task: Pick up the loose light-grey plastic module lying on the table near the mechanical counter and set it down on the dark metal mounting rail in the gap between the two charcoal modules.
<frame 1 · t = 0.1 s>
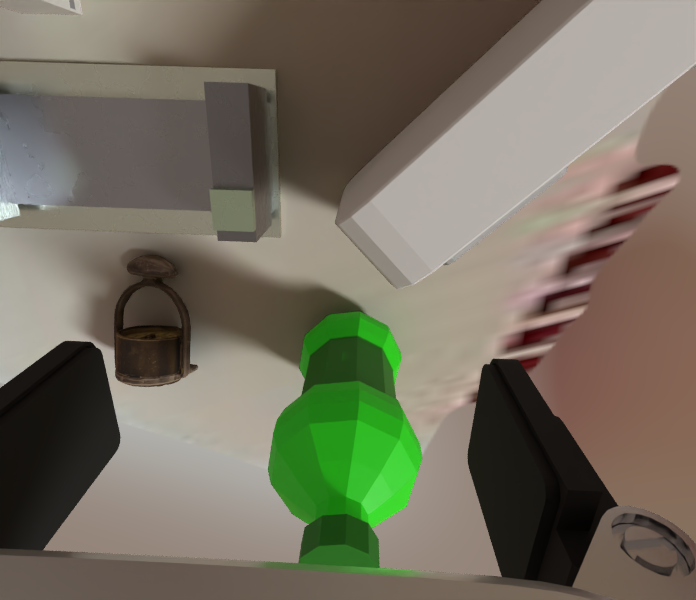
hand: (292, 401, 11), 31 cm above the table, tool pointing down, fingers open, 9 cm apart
plastic bottle: (351, 340, 45), on the table
rail: (128, 153, 39), on the table
rounded white slab: (492, 90, 36), on the table
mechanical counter: (170, 313, 45), on the table
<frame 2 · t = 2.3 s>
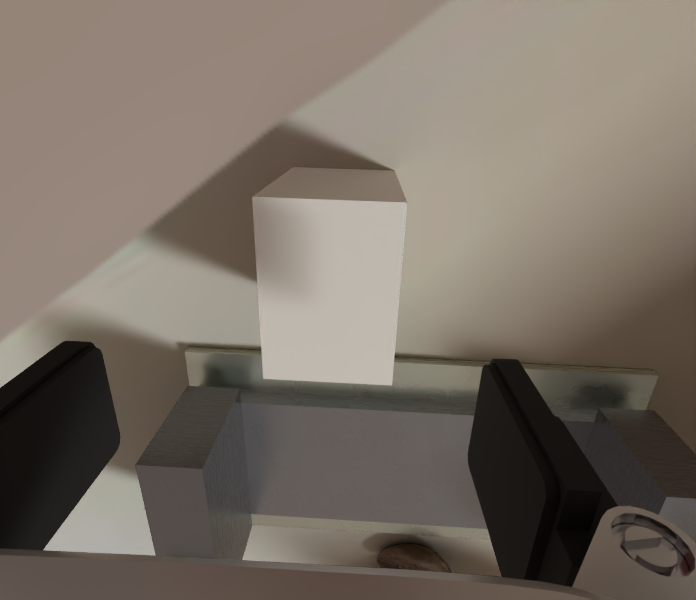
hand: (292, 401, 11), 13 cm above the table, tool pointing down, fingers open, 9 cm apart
module: (342, 238, 23), on the table
rail: (406, 450, 28), on the table
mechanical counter: (414, 591, 34), on the table
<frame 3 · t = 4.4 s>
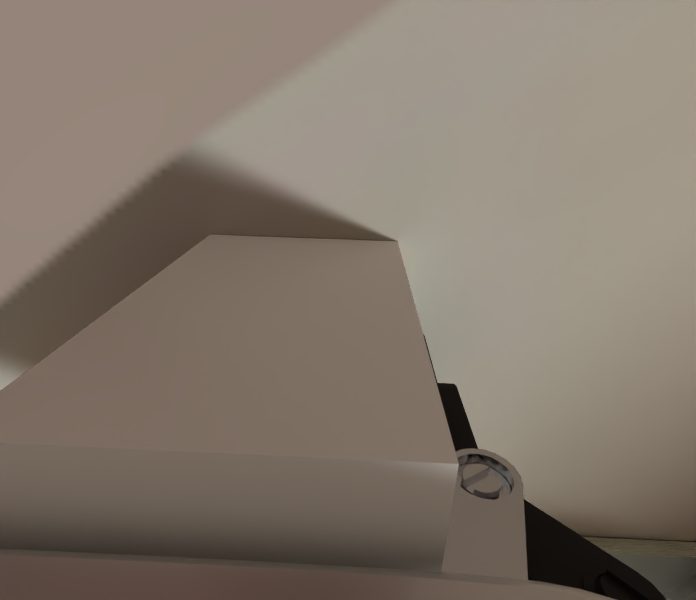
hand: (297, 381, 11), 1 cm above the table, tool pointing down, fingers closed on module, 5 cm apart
module: (304, 353, 13), on the table, touching gripper
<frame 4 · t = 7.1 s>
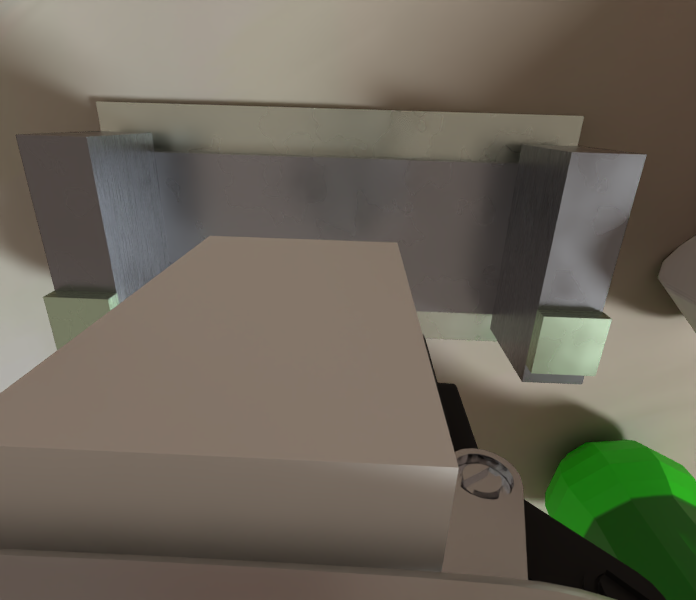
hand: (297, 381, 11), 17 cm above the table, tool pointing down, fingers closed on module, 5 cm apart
plastic bottle: (592, 465, 34), on the table
module: (304, 354, 13), point 15 cm above the table, touching gripper
rail: (335, 230, 27), on the table
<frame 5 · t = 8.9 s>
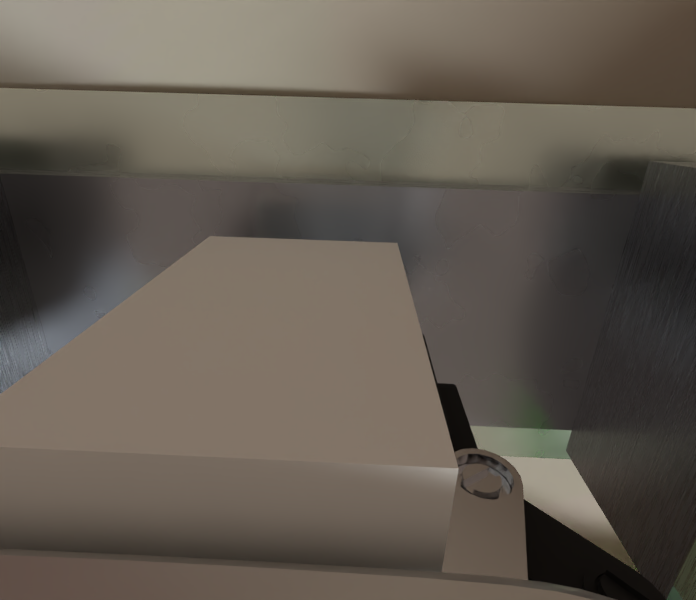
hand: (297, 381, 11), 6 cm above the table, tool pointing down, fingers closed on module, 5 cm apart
module: (304, 354, 13), point 4 cm above the table, touching gripper
rail: (319, 295, 17), on the table
when the fingers open (5 cm above the table, at t = 10.0 s): module drops 1 cm, resting on rail.
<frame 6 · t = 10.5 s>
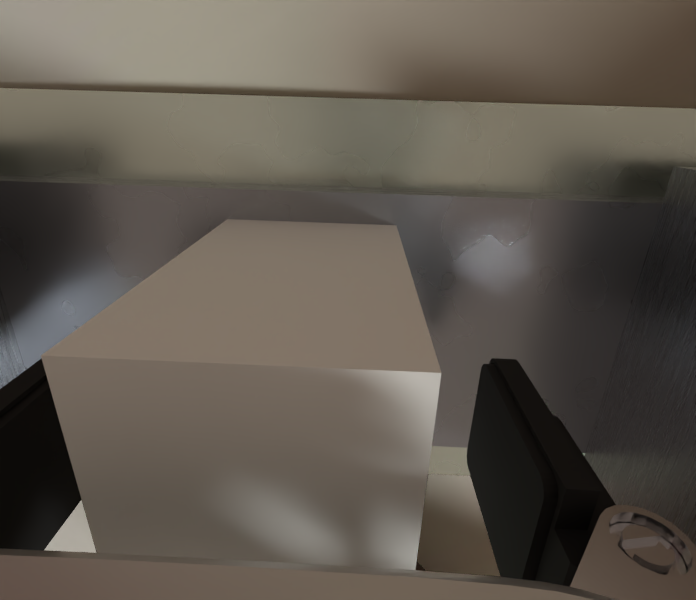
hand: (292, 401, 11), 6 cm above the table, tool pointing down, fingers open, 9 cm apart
module: (311, 328, 14), point 2 cm above the table, touching rail
rail: (315, 309, 16), on the table
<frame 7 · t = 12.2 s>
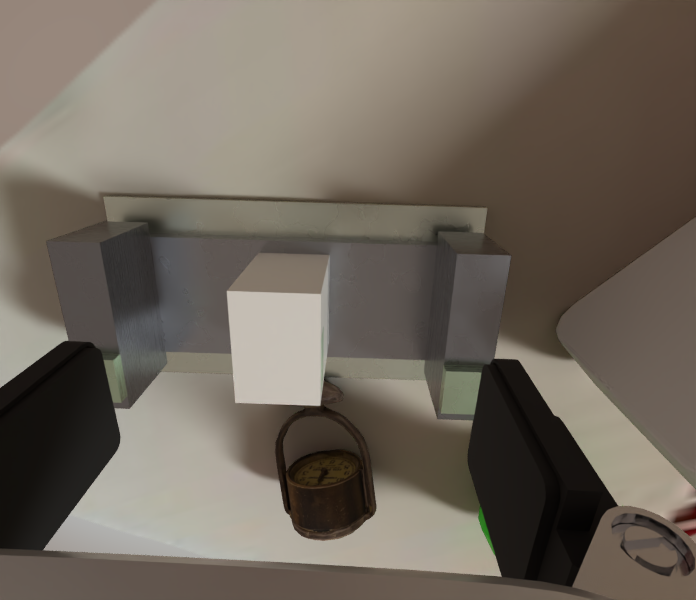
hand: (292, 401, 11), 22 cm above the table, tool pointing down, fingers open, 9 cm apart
module: (294, 300, 32), point 2 cm above the table, touching rail
rail: (297, 293, 33), on the table
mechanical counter: (330, 435, 38), on the table
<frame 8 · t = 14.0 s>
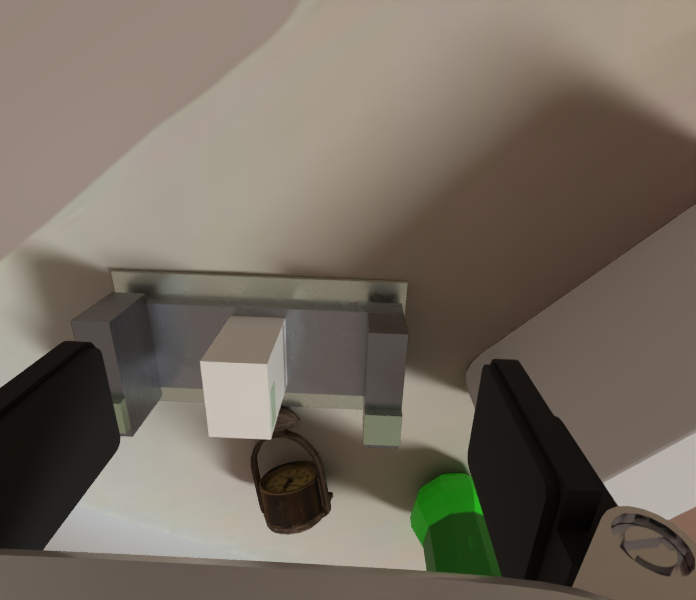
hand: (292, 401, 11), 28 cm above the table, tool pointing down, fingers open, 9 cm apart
plastic bottle: (450, 488, 49), on the table
module: (259, 350, 41), point 2 cm above the table, touching rail
rail: (263, 342, 42), on the table
rounded white slab: (602, 297, 40), on the table
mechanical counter: (296, 449, 48), on the table
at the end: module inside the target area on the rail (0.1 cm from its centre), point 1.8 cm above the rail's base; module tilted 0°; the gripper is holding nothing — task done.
